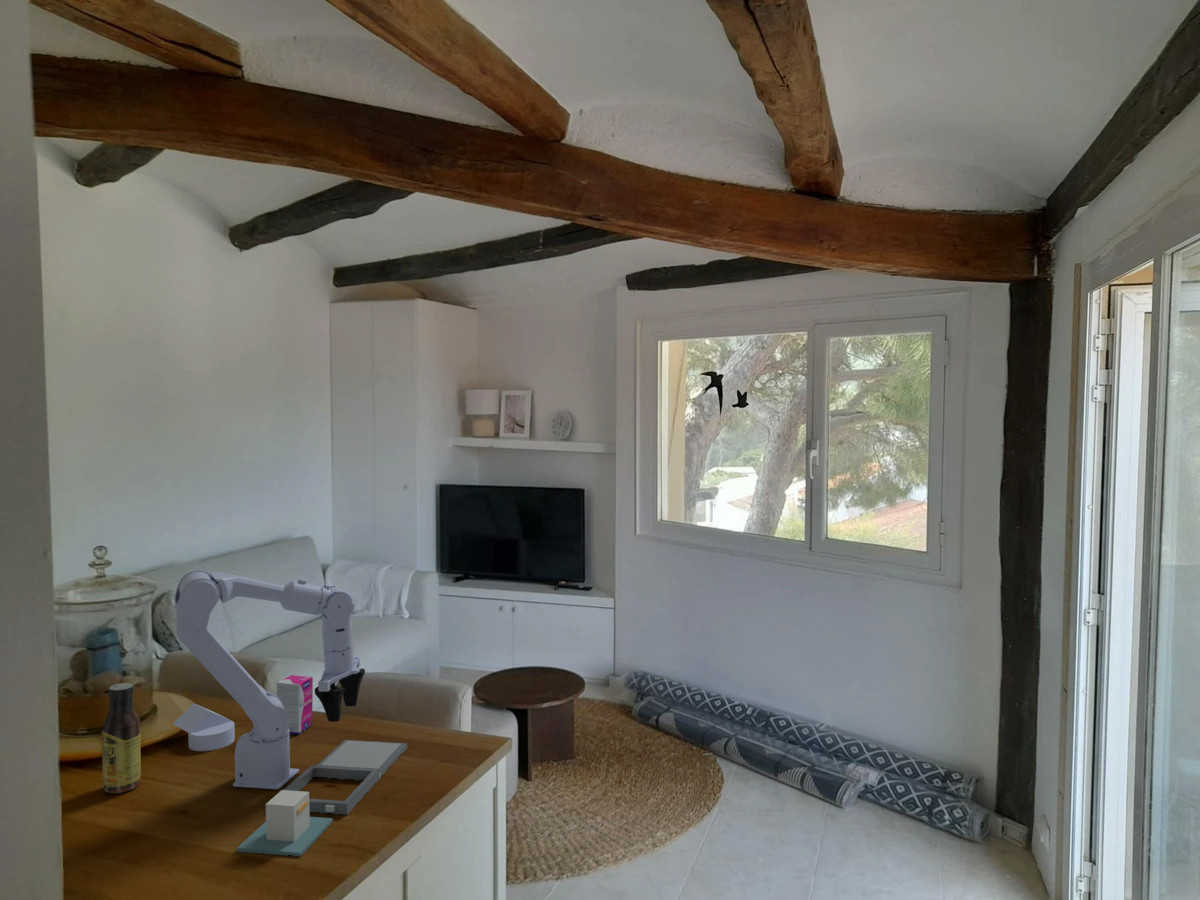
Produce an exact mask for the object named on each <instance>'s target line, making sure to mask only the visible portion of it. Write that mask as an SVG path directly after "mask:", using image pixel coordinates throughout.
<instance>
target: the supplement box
mask: <svg viewBox="0 0 1200 900" xmlns="http://www.w3.org/2000/svg"><path fill="white" fill-rule="evenodd" d="M313 679H314V677H312V676H302V675H295V674H291V675H288V676H287V677H284V678H283V679H281V680H280V681H278V682H276V696H278V697H279V698H280V699H281V701H282V704H283V707H284V709H285V710H286V711H287V712H288V714H289V716H290V726H289V735H293V734H299V735H301V733H303V732H304V731H306V730H307V729H309V728H310V727H309V726H311V725H312V726H313V701H314V700H313V696H314V695H313V691H314V690H313V688H314V687H313V686H314V684H313V682H314V680H313ZM312 726H311V727H312ZM308 727H309V728H308ZM306 728H307V729H306ZM305 729H306V730H305ZM303 730H304V731H303ZM302 731H303V732H302Z"/></svg>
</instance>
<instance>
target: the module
mask: <svg viewBox="0 0 1200 900" xmlns="http://www.w3.org/2000/svg"><path fill="white" fill-rule="evenodd" d="M309 799H310V791H302V790H300V791H289V790H284V789H281V790H280V791H279V792H278V793H277V794H276V795H274V796H273V797H272V798H271V799H270V800H269V801H267V802H266V803H265V822H266V840H279V841H291V842H295V841H296V840H297V839H298V838H299V837H300V836H301V835H302V834H303V833H304V832H305V831H306V829H307V828H308V827H309V826H310V817H311V816H310V812H309Z"/></svg>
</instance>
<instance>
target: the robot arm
mask: <svg viewBox="0 0 1200 900" xmlns="http://www.w3.org/2000/svg"><path fill="white" fill-rule="evenodd" d="M210 573H211V574H210ZM210 573H209V572H207V571H205V570H200V569H198V570H197V569H196V570H191V571H189V572H187V573H185V574H184V575H183V576H182V577H181V578H180V580H179V582H178V584H177V588H176V591H175V593H174V606H175V607H174V609H175V611H174V612H175V632H176V636H177V638H178V640H179V641H180V642H181V643H182V645H184V646H185V647H186V648H187V650H189V652H191V654H192V656H194V657H195V658H196V659H197V660H198V661H199V662H200V663H201V664H202V666H203V667H204V668H205V669H206V671H208V672H209V673H210V674H211V676H213V678H215V680H216V681H217V682H218V683H219V684H220V685H221V686H222V687H223V689H225V691H226V692H227V693H228V694H229V695H230V696H231V697H232V698H233V699H234V700H235V702H236V703H237V704H238V705H239V706H240V707H241V709H242V710H243V711H244V712H245V714H246V716H247V717H248V718H249V719H250V721H251V722H252V724H253V726H252V728H251V730H250V732H245V733H243V734H241V736H240V737H239V738H238V740H237V742H236V744H235V750H234V779H235V780H234V783H232V786H233V787H237V788H250V789H251V788H252V789H266V790H279V789H280V788H282V787H283V786H284V785H286V784H287V782H289V781H290V780H291V779H292V778H293V777H295V776H296V775H297V774H298V773H299V772H300V769H299V768H291V758H290V757H291V754H290V753H291V752H290V751H291V750H290V746H291V745H290V743H291V742H290V734H289V726H290V716H289V714H288V712H287V711H286V710H285V709H284V707H283V704H282V701H281V699H280V698H279V697H278V696H277V694H273V693H270V692H268V691H267V690H266V689H265V688H264V687H262V686H261V685H260V684H259V683H258V682H257V681H256V680H255V679H254V678H253V677H252V676H251V675H250V673H249V672H248V671H247V670H246V669H245V668H244V667H243V666H242V664H241V663H239V661H238V660H237V659H236V658H235V657H234V656H233V655H232V654H231V652H230V651H229V650H228V649H227V648H226V647H225V646H224V645H223V644H222V642H220V640H219V639H218V638H217V637H216V636H215V634H213V632H212V631H211V630H210V629H209V628H208V625H209V620H210V617H211V616H210V615H211V613H212V611H213V610H214V608H215V607H216V605H217V604H218V603H219V602H218V601H219V599H220V601H221V603H222V604H224V603H227V602H229V601H231V600H233V599H235V598H237V597H238V598H239V597H240V598H246V599H247V598H249V599H255V600H264V601H270V602H271V601H272V602H278V603H280V605H281V607H282V608H283V610H285V611H290V612H297V613H302V614H308V615H315V616H318V615H321V621H322V628H321V631H322V647H323V662H324V663H323V664H324V671H323V673H322V676H321V677H320V680H319V681H317V686H316V687H315V688H314V695H315V696H316V697H317V698H318V700H319V702H320V703H321V704H322V707H323V710H324V712H325V716H326V718H327V721H328V722H329V723H330V722H331V723H332V722H334V723H335V722H336V723H337V722H339V721H340V719H341V715H342V713H341V712H342V711H341V709H342V707H341V706H342V700H343V701H344V705H345V707H356V706H357V704H358V698H359V691H360V687H361V683H362V681H363V678H364V676H365V674H366V670H365V668H361V658H360V656H355V655H354V654H355V653H354V637H353V624H352V614H353V612H354V609H355V603H353V602H354V601H353V599H352V596H350V595H349V594H348V593H347V592H346V591H344V589H342V588H339V587H337V586H335V585H329V584H325V583H324V584H323V585H317V584H312V583H307V580H306V579H304V578H298V580H297V581H296V580H290V581H289V582H287V583H285V584H283V585H282V584H278V583H273V582H269V581H265V580H261V579H256V578H255V579H254V578H250V577H246V576H241V575H238V574H231V573H227V572H226V573H225V572H219V571H210ZM337 682H339V684H340V687H339V686H338V685H336V683H337Z"/></svg>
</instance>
